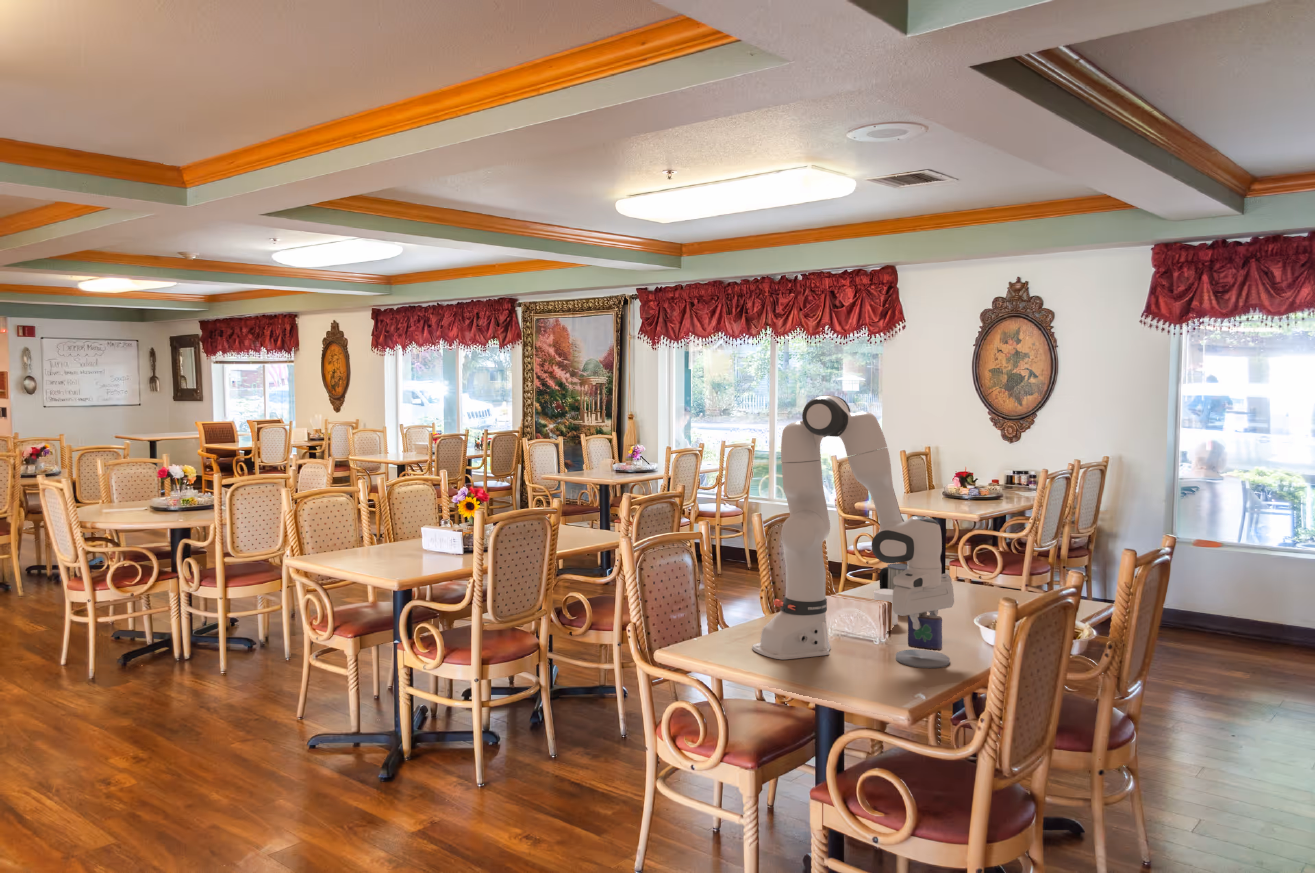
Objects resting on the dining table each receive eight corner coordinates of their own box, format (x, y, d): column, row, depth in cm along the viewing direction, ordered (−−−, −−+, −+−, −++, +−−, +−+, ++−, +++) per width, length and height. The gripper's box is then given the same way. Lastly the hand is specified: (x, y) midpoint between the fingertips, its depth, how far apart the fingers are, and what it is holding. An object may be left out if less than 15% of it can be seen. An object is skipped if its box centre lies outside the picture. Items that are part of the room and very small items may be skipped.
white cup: (899, 626, 283) (900, 594, 283) (873, 625, 285) (874, 593, 284) (898, 620, 291) (899, 589, 290) (873, 619, 293) (873, 588, 292)
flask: (943, 649, 246) (943, 609, 246) (940, 651, 244) (939, 612, 243) (909, 644, 251) (909, 605, 251) (906, 647, 249) (905, 608, 248)
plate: (924, 671, 238) (924, 667, 238) (884, 657, 250) (884, 654, 250) (960, 663, 246) (961, 659, 246) (920, 650, 258) (920, 646, 258)
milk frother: (920, 610, 306) (921, 565, 305) (896, 618, 294) (897, 572, 293) (882, 603, 315) (882, 560, 315) (857, 610, 304) (858, 566, 303)
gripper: (941, 570, 255) (941, 620, 256) (888, 578, 244) (888, 630, 245) (960, 574, 250) (959, 624, 250) (906, 582, 239) (905, 635, 240)
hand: (923, 627), depth 247 cm, fingers closed on flask, 4 cm apart
